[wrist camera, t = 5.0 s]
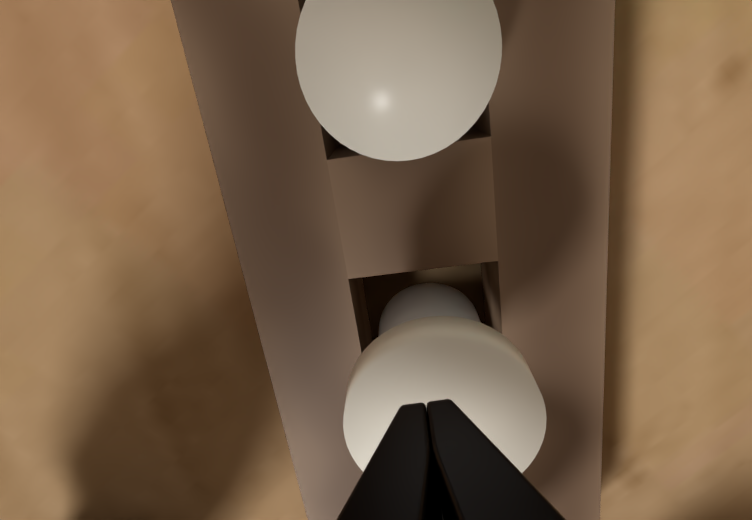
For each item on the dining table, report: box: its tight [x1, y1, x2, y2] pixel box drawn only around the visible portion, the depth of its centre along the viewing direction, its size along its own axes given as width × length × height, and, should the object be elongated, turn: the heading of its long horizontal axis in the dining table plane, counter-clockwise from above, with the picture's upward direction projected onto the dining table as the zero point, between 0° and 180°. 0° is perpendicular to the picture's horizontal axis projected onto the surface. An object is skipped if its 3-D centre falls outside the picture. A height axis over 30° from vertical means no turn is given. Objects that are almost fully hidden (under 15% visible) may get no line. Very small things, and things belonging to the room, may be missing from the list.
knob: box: [295, 0, 502, 161], centre depth 14 cm, size 5×5×5 cm
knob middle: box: [343, 283, 547, 473], centre depth 15 cm, size 5×5×5 cm
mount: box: [171, 0, 615, 520], centre depth 18 cm, size 12×28×4 cm, turn 8°
